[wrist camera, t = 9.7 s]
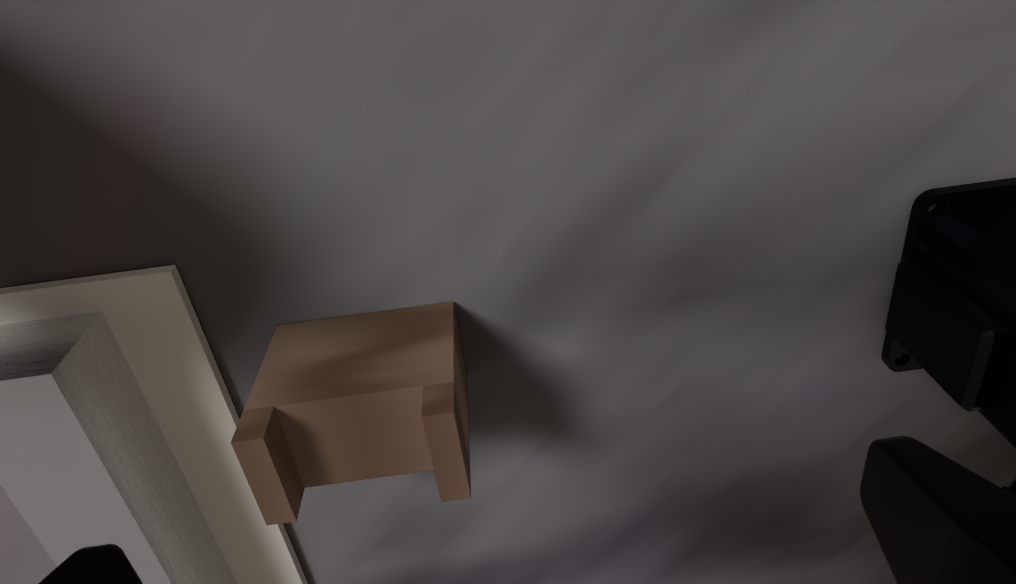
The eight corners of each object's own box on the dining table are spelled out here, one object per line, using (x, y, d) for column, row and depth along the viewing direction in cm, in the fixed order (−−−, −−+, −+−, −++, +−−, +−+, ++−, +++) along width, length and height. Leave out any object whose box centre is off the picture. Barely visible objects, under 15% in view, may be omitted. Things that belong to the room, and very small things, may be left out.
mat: (175, 264, 20) (170, 271, 20) (360, 709, 32) (359, 718, 32) (-99, 301, 20) (-109, 309, 20) (191, 732, 32) (188, 741, 32)
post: (453, 301, 21) (454, 412, 17) (467, 377, 23) (470, 497, 18) (277, 325, 21) (230, 442, 17) (302, 399, 23) (266, 525, 18)
